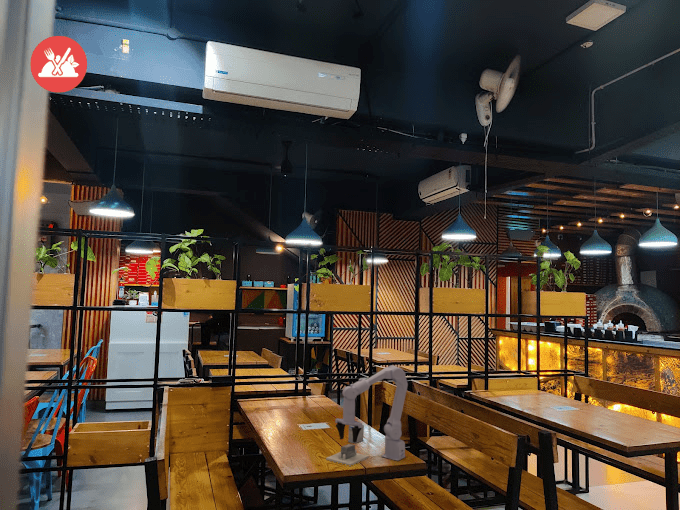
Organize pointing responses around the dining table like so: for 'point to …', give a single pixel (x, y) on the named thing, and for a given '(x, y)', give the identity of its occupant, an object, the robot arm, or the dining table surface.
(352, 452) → the block
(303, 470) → the dining table surface
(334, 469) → the dining table surface
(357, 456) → the pin tray
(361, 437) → the medicine box
